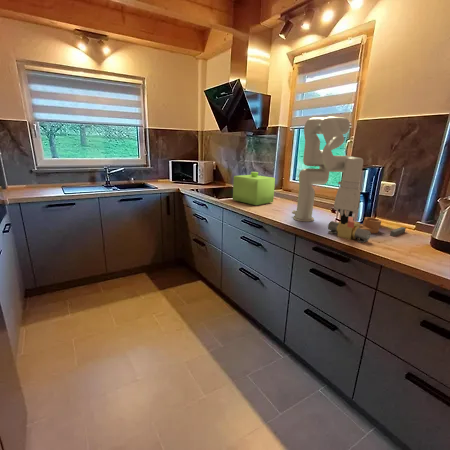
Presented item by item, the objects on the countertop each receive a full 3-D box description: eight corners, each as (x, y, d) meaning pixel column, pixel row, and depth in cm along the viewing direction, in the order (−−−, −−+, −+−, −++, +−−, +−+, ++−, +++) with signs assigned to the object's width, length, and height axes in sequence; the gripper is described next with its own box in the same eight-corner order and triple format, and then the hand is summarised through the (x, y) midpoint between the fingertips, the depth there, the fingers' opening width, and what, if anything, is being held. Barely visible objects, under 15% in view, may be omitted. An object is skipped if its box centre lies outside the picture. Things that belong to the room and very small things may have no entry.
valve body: (326, 232, 146) (328, 218, 143) (333, 230, 150) (335, 216, 148) (363, 244, 131) (366, 228, 128) (370, 241, 135) (373, 225, 132)
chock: (389, 235, 145) (390, 231, 145) (400, 231, 154) (401, 226, 153) (393, 236, 144) (394, 231, 143) (404, 231, 152) (405, 227, 151)
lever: (346, 220, 140) (346, 214, 139) (353, 221, 139) (354, 215, 138) (346, 227, 127) (347, 221, 127) (354, 228, 126) (355, 222, 125)
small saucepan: (370, 228, 157) (373, 217, 155) (381, 233, 150) (384, 221, 148) (344, 228, 152) (346, 217, 150) (354, 234, 145) (357, 221, 143)
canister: (232, 199, 223) (233, 171, 217) (249, 196, 238) (251, 170, 231) (256, 205, 206) (258, 174, 200) (273, 201, 221) (275, 172, 214)
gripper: (330, 183, 126) (325, 221, 132) (365, 188, 117) (358, 228, 123) (336, 182, 132) (330, 218, 137) (369, 186, 123) (362, 225, 128)
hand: (343, 223), depth 130 cm, fingers closed
